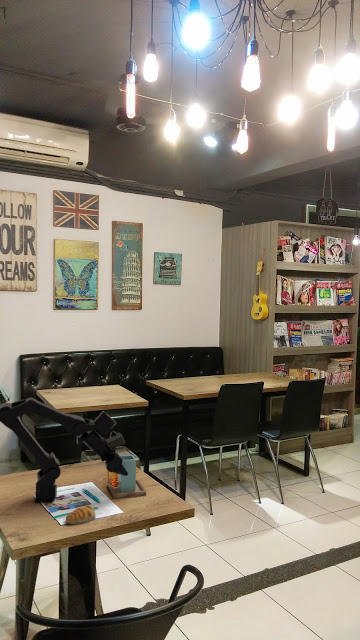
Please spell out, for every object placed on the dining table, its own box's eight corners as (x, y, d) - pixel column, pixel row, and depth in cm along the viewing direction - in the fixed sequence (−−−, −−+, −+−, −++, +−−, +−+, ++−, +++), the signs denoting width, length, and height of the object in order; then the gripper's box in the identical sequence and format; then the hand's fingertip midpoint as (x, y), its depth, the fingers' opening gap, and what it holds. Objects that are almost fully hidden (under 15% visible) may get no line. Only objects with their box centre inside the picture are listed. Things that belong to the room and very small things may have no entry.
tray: (113, 498, 176) (113, 494, 176) (107, 486, 187) (107, 482, 187) (146, 495, 180) (146, 491, 179) (137, 483, 191) (138, 479, 191)
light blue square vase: (120, 492, 180) (121, 460, 179) (117, 487, 185) (118, 456, 184) (135, 491, 182) (136, 459, 181) (131, 485, 187) (132, 454, 186)
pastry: (72, 528, 153) (72, 516, 153) (61, 521, 158) (61, 509, 158) (97, 519, 160) (97, 507, 160) (85, 512, 165) (85, 501, 164)
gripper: (117, 434, 171) (146, 462, 175) (107, 420, 189) (134, 447, 193) (94, 457, 169) (124, 486, 173) (86, 442, 187) (113, 468, 191)
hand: (124, 470), depth 183 cm, fingers open, 9 cm apart
